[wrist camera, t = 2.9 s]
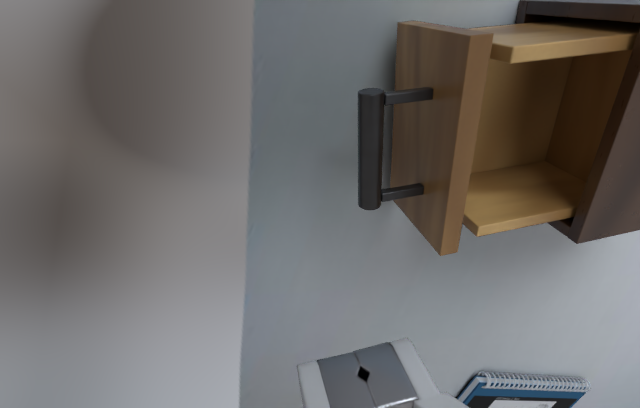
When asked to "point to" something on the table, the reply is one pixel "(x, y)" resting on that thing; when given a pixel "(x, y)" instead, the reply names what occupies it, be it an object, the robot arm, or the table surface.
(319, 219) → the table surface
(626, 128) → the wooden drawer box
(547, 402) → the sketchbook
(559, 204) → the wooden pull-out drawer
